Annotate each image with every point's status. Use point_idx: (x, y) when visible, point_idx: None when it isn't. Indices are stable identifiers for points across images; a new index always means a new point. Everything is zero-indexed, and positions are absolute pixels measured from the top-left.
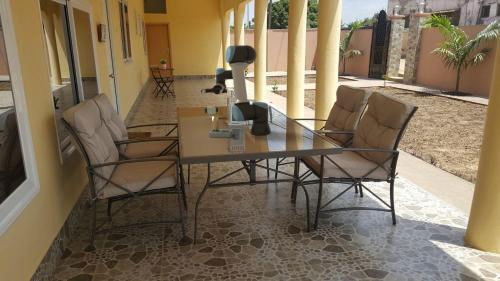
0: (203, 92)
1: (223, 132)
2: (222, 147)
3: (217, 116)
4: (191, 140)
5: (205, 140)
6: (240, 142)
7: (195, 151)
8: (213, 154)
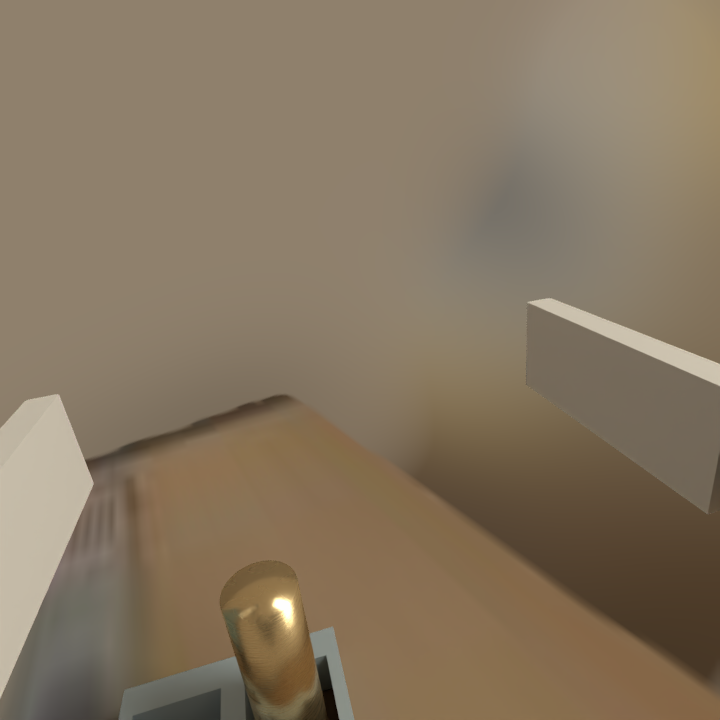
0: (545, 353)
1: (188, 676)
2: (170, 508)
3: (232, 612)
4: (416, 539)
5: (322, 571)
6: (46, 622)
7: (285, 437)
8: (196, 440)
